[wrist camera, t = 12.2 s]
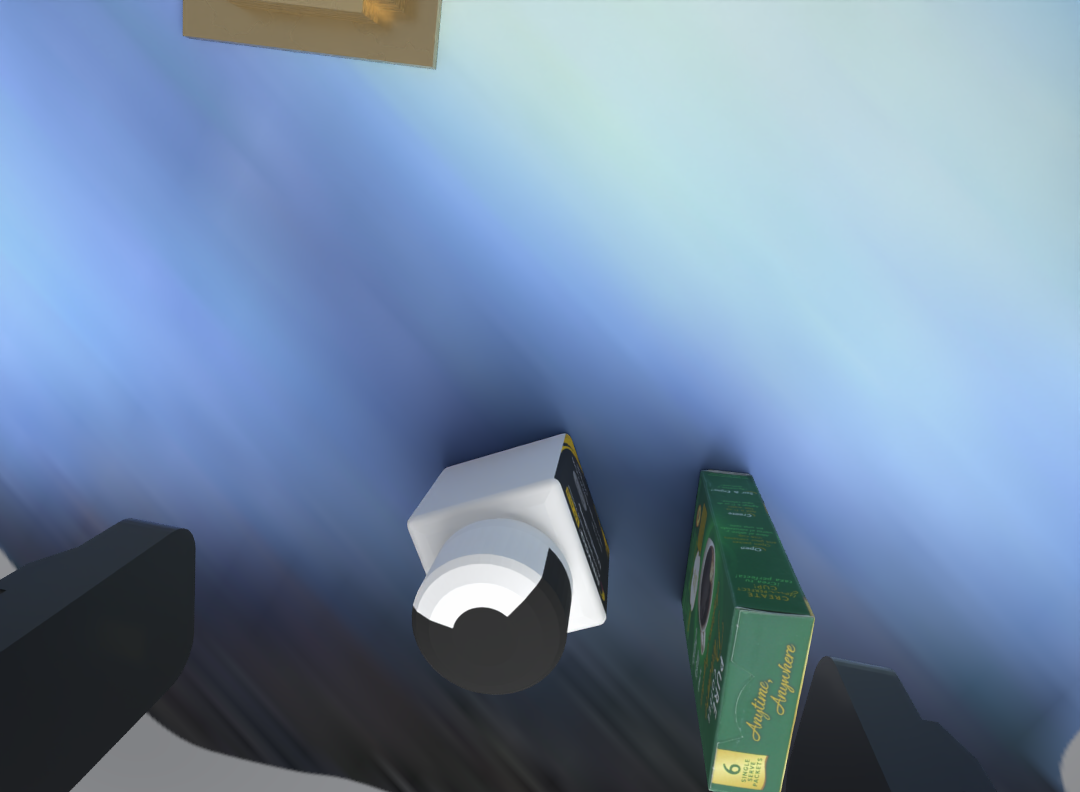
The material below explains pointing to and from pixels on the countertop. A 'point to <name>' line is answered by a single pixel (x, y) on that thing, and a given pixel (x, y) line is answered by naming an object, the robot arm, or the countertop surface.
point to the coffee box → (743, 635)
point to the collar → (323, 27)
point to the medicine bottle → (508, 566)
